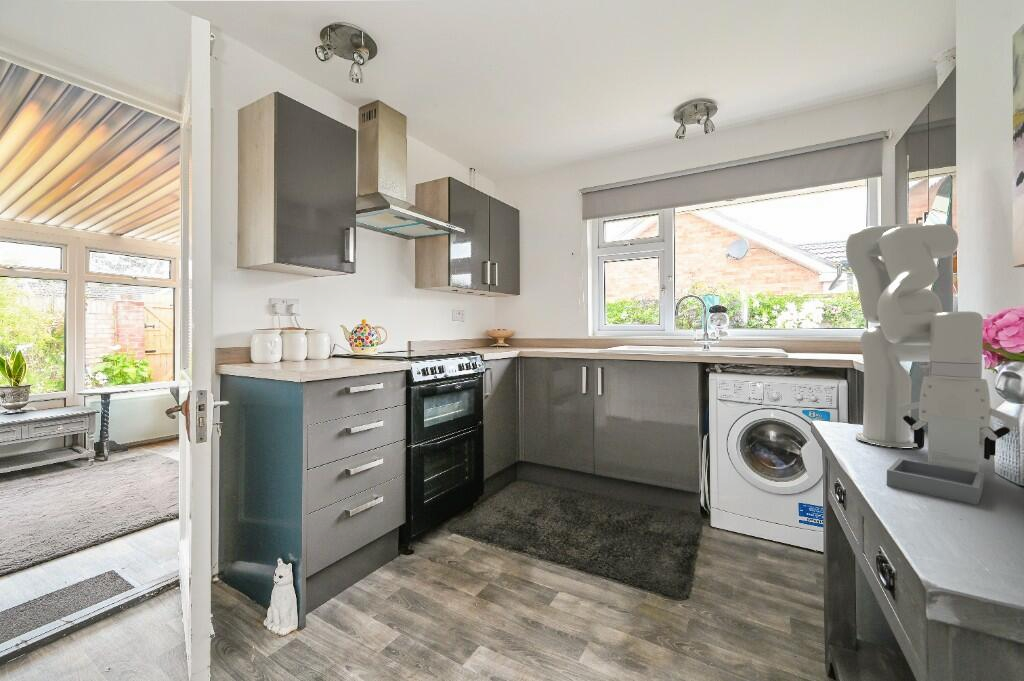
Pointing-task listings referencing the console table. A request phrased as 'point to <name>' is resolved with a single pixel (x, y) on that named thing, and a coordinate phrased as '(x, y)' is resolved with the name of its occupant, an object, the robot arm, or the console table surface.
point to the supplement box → (953, 443)
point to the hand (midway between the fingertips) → (952, 452)
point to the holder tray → (936, 480)
